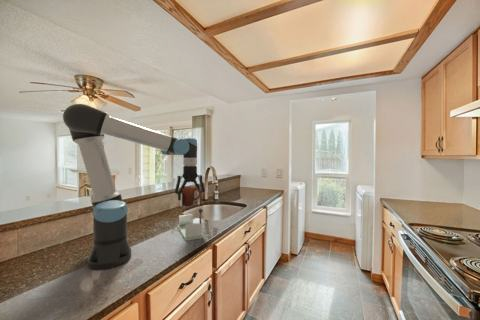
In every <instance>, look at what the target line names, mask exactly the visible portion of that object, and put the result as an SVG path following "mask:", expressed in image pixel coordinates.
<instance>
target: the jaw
mask: <svg viewBox="0 0 480 320" xmlns="http://www.w3.org/2000/svg"><path fill="white" fill-rule="evenodd" d="M187 224H194V214H192V213H189V214H183V215H182V214H181V215H178V225H179V226H180V225H187Z"/></svg>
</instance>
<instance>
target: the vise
mask: <svg viewBox="0 0 480 320" xmlns="http://www.w3.org/2000/svg"><path fill="white" fill-rule="evenodd" d="M203 212H204V211H203V209H202V208H199V209H198V213H199V222H196V223H193V224H187V225H180V226H179V224H177V225H176V226H177V227H176V228H177V229H178V232H179V233H180V235H181V236H182V238H183V239H184V242H188V241H192V240H198V239H199V240H200V239H203V238H204V234H203V223H202V213H203Z"/></svg>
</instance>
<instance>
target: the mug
mask: <svg viewBox="0 0 480 320" xmlns="http://www.w3.org/2000/svg"><path fill="white" fill-rule="evenodd" d="M180 189H181V186H179V190H180ZM200 189H201V188H200ZM200 189H197V188H196V186H191V185H190V186H187V185H185V187H184V189H183V188H182V193H181V194H182V206H181V207H188V208H189V207H193V206H194V205H195V202H196V201H197V199H199V198H200V196H201V197H202V193H201V190H200ZM196 191H199V192H198V193H199V196H198V198H197V197H195V196H196Z"/></svg>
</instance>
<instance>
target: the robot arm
mask: <svg viewBox="0 0 480 320" xmlns="http://www.w3.org/2000/svg"><path fill="white" fill-rule="evenodd" d="M62 114H63V115H62V120H63V122H64V124H65V126H67V128H68V130H69V133H70V136H71V139H72V142H73V143H75V144H77V145H78V147H79V151H80V154H81V157H82V161H83V164H84V167H85V170H86V175H87V177H88V180H89V183H90V188H91V190H92V194H93V198H92V199H91V201H90V202H91V204H92V208H93V211H92V216H93V221H92V222H93V238H92V239H93V241H92V242H93V244H92V247H91V250H90V252H89V254H88V257H87V267H88V268H89V269H91V270H96V271H97V270H106V269H112V268H116V267H118V266H121V265H123V264H125V263H127V262H128V261H129V260H131V258H132V249H131V246H130V243H129V241H128V212H129V210H128V205H127V203H126V202H125V201H123V198H122V194H121V192H119V191H117V190H116V185H115V182H114V179H113V175H112V172H111V168H110V165H109V162H108V159H107V155H106V150H105V148H104V144H103V140H104V138H105V135H107V136H110V137H114V138H118V139H122V140H125V141H129V142H132V143H135V144H138V145H143V146H146V147H150V148H154V149H157V150H160V152H161V153H160V154H161V155H164V156H165V155H166V156H183V159H182V160H183V162H182V163H183V167H182V168H183V170H182V175H177V181H176V185H175V189H174V193H175V195H177V200H178V201H179V206H180V207H183V206H182V194H181V193H182V188H183V189H184V187H186V186H187V183H193V184H194V187H196V189H200V190H201V194H202V193H204V192H205V191H206V190H205V186H204V181H203V175H202V174H198V167H197V165H198V140H197V139H196V138H191V137H190V138H189V137H186V138H177V137H174V136H171V135H168V134H166V133H162V132H159V131H157V130H153V129H150V128H146V127H143V126H141V125H137V124H135V123H132V122H128V121H126V120H123V119H119V118H116V117H113V116H111V115H110V113H109V112H106V111H104V110H103V111H102V110H101V109H97V108H95V107H94V106H90V105H88V104H84V103H75V104H71V105H69V106H68V107H66V109H65V110H63V113H62ZM197 178H198V180H199V184H198V181H197ZM182 179H183V182H182V184H181V180H182ZM180 184H181V186H180ZM180 187H181V189H180ZM197 191H198V190H197ZM196 194H197V196H196V198H198V196H199V191H198V192H197V193H196ZM201 199H202V195H201V196H200V198H199V199H197V200H196V204H197V205H198V206H199V205H200V204H201V201H200V200H201Z"/></svg>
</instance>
